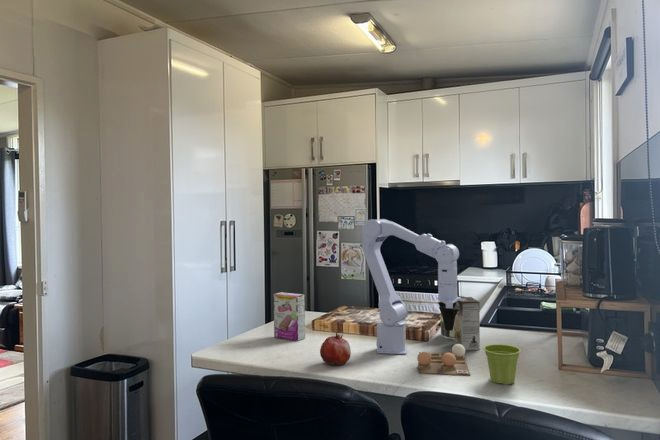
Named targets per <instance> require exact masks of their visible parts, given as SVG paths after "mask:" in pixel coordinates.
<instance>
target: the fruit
mask: <svg viewBox="0 0 660 440" xmlns="http://www.w3.org/2000/svg"><path fill="white" fill-rule="evenodd" d="M343 335H344V334H341V335H340V334H338V331H336V333H335V336H334V335H332V336H329V337H327V338H326V339H325V340H324V341H323V342H322V344H321V346H320V350H319V353H320V357H321V360H322V361H323V362H324V363H325V364H328V365H333V366H337V367H338V366H342V365H345V364H346V363H347V362H349V360H350V358H351V354H352V352H351V351H352V350H351V346H350V343H349V341H348V340H346V339H345V338H344V337H343Z"/></svg>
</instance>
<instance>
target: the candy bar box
mask: <svg viewBox="0 0 660 440" xmlns="http://www.w3.org/2000/svg"><path fill="white" fill-rule="evenodd" d="M305 298H306V296H305V294H302V293H291V292H285V291H283V292H282V291H281V292H276V293H273V323H274V324H273V330H274V331H273V334H274V335H273V337H274V338H277V339H283V340H287V341H288V340H289V341H295V342H300V341H302V340H304V339H306V315H305V313H306V309H305V307H306V306H305V304H306V303H305V300H306V299H305Z"/></svg>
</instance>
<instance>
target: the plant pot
mask: <svg viewBox="0 0 660 440" xmlns="http://www.w3.org/2000/svg"><path fill="white" fill-rule="evenodd" d="M483 350H484V352H485V355H486V359H487V365H488V370H489V371H488V372H489V379H490V381H491V382H493V383H495V384H503V385H511V384H514V383H515V381H516V376H517V375H516V374H517V365H518V359H519V356H520V353H521V352H522V351H521V348H519V347H517V346H514V345H510V344H509V345H508V344H499V343H498V344H488V345H485V346H484V347H483Z"/></svg>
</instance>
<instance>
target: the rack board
mask: <svg viewBox="0 0 660 440" xmlns="http://www.w3.org/2000/svg"><path fill="white" fill-rule="evenodd" d="M421 352H422V351H421ZM421 352H418V354H419V353H421ZM428 353H429V354H430V356H431V362H430V364H429V365H427V366H425V365H420V364H419V362H418V361H417V369H418V374H420V375H421V374H422V375H424V374H425V375H442V376H443V375H444V376H445V375H446V376H448V375H449V376H467V377H469V376H471V372H470V369H469V365H468V363H467V359H466V357H465V356H466V355H465V354H464V355H463V356H462V357H456V356H455V358H456V363H455V364H454V365H453V366H452V367H450V366H445V365H444V364H443V362H442V356H443V355H444V354H445V353H446V352H428Z"/></svg>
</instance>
